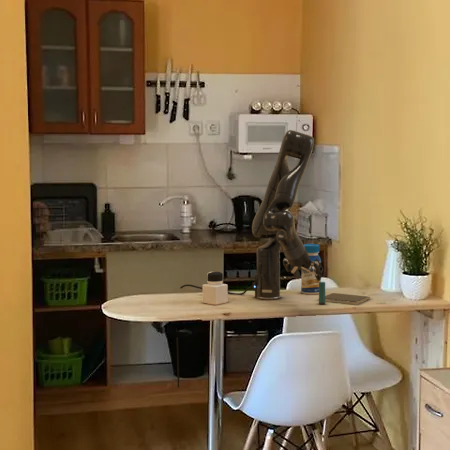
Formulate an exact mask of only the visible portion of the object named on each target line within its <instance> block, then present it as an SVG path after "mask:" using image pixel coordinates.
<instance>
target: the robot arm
mask: <svg viewBox="0 0 450 450" xmlns="http://www.w3.org/2000/svg"><path fill="white" fill-rule="evenodd" d="M314 145H315V139H314V137H313V136H312V135H310V134H306V133H304V132H300V131H297V130H293V129H289V130H287V131H286V132H285V134H284V136H283V137H282V141H281V145H280V148H279V151H278V156H277V158H276V162H275V165H274V167H273V170H272V173H271V175H270V178H269V180H268V183H267V186H266V190H265V193H264V195H263V198H262V201H261V203H260V206H259V207H258V209H257V211H256V214H255V215H254V218H253V220H252V224H251V232H252V235H253V236H254V237H255V238H256V239H268V241H267V242H265V243H264V244H263V245H261V246H258V247H257V248H256V273H255V274H254V282H252V283H251V284H252V285H250V286H249V287H247V288H245V290H244V291H243V292H240V293H238V292H237V293H236V292H230V291H228V295H235V296H243V295H245V294H246V293H247V291H248V290H250V289H251V290H252V292H253V291H254V298H255V299H259V300H278V299H280V298H281V255H280V254H281V251H282V253H283V254H284V256H285V257H284V258H283V260H282V265H283V267H284V269H285V271H286V272H287V273H289V272H290V273H291V274H293V277H295V278H296V280H300V277H301V273H300V271H301V270H306V271H308V272H309V273H313V274H314V275H315V277H316V279H317V281H320V280H321V281H322V278H323V275H322V274H323V272H324V267H323V266H322V264H321V263H320V262H319V260H317V259H316V260H315V261H311V260H310V259H309V256H308V253H307V251H306V249H305V247H304V243H303V241H302V240H301V238H300V237H299V235H298V233H297V230H296V224H295V217H294V214H293V213H292V212H291V211H289V210H290V209H292V208H293V207H294V205H295V201H296V198H297V193H298V189H299V186H300V184H301V181H302V178H303V176H304V174H305V172H306V169H307V166H308V163H309V161H310V158H311V156H312V152H313V149H314ZM288 157H290V158H294V159H298V160H299V161H298V162H297V164H296V166H295V167H294V168H292V169H290V166H289V162H288ZM310 266H311V269H309V267H310ZM314 269H315V270H316V271H314ZM185 287H191V288H195V289H198V290H199V289H200V290H202V291H203V289H202V286H197V285H195V284H184V285H183V284H182V285H181V286H180V287H179V289H183V288H185ZM179 358H180V356H179V337H178V336H177V337H176V371H177V373H176V374H177V388H180V359H179Z"/></svg>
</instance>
